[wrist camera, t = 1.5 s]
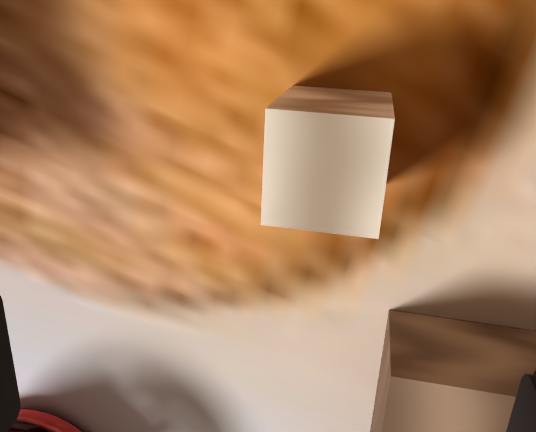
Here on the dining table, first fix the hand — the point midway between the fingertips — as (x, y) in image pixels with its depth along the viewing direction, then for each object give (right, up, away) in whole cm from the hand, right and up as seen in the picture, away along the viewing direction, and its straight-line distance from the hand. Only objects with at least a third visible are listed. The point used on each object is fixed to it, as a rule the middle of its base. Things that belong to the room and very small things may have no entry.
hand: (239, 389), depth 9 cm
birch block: (+4, +7, +18) cm, 20 cm away
